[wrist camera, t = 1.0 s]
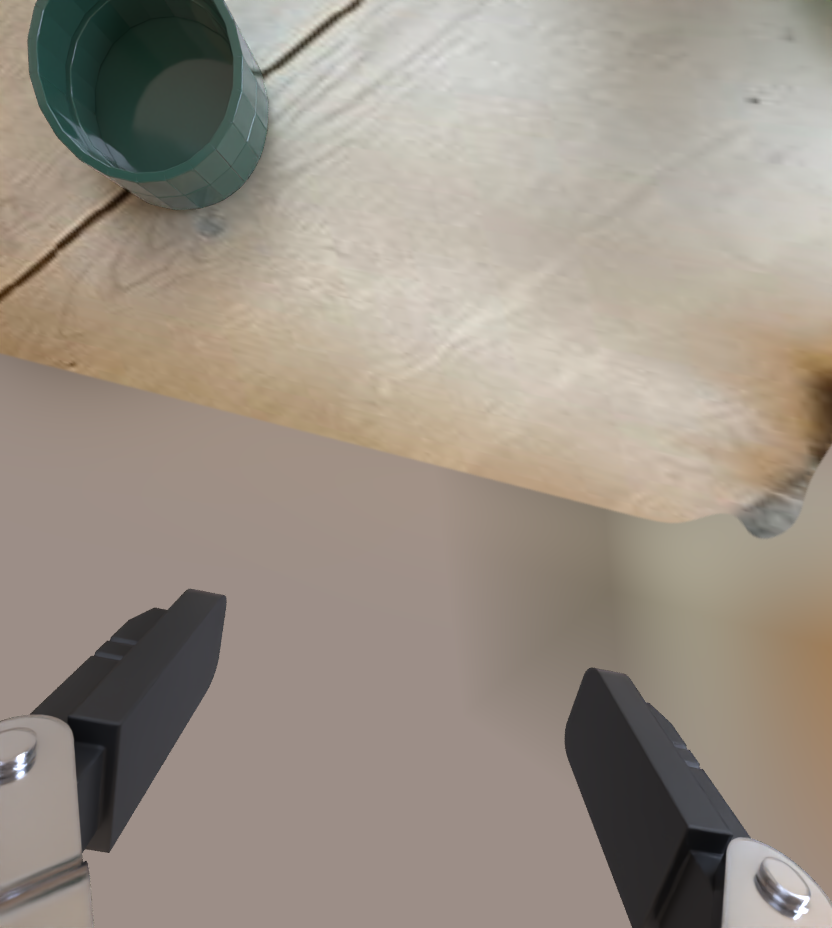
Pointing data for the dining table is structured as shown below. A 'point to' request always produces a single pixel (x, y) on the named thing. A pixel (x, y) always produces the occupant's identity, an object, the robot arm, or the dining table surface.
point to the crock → (151, 94)
